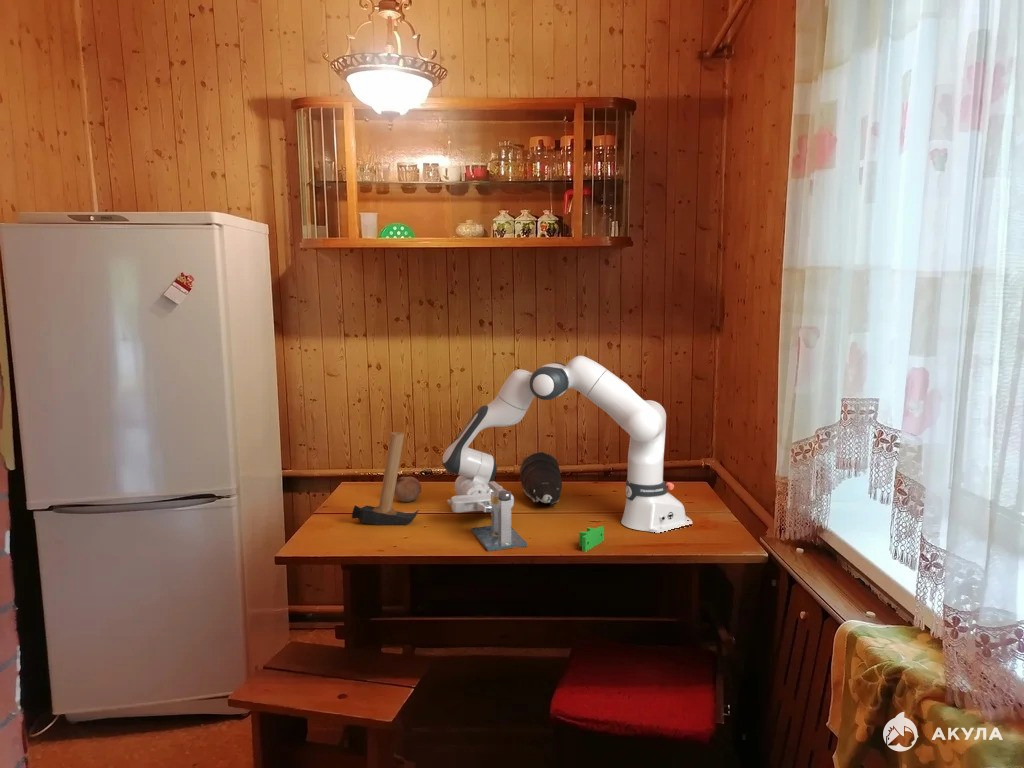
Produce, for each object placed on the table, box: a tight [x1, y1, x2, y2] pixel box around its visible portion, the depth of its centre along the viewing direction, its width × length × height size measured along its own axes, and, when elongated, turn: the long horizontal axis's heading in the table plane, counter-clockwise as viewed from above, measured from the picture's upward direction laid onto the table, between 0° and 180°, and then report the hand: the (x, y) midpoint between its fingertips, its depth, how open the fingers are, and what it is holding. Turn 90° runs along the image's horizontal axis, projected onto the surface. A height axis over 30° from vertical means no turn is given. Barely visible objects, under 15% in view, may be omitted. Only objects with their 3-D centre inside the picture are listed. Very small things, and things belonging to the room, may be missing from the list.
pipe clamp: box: [578, 525, 605, 553], centre depth 206 cm, size 11×4×5 cm, turn 145°
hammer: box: [351, 431, 419, 527], centre depth 223 cm, size 20×5×30 cm, turn 89°
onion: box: [394, 476, 422, 503], centre depth 248 cm, size 10×9×10 cm
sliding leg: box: [490, 492, 499, 534], centre depth 211 cm, size 3×3×13 cm
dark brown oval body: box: [519, 451, 563, 507], centre depth 247 cm, size 15×15×25 cm
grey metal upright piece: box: [488, 480, 512, 544], centre depth 210 cm, size 4×15×15 cm, turn 19°
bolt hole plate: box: [470, 525, 529, 552], centre depth 211 cm, size 12×18×1 cm, turn 19°
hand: (489, 509), depth 219 cm, fingers closed
